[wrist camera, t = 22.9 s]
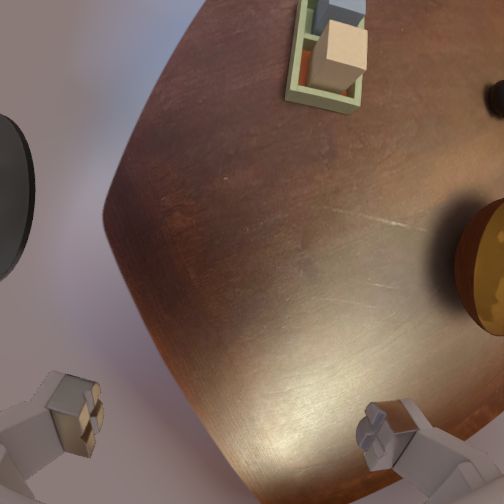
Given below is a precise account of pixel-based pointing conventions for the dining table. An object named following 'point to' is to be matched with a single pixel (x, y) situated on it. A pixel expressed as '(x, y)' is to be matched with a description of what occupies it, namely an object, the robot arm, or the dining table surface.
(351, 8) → the pale blue upright prism
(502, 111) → the figurine
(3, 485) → the robot arm
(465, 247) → the bowl
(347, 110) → the holder
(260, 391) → the dining table surface
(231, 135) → the dining table surface
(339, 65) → the beige rectangular block
